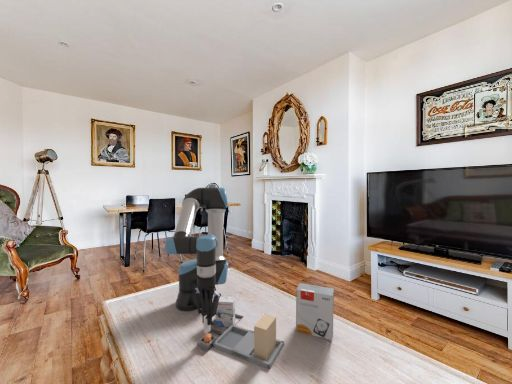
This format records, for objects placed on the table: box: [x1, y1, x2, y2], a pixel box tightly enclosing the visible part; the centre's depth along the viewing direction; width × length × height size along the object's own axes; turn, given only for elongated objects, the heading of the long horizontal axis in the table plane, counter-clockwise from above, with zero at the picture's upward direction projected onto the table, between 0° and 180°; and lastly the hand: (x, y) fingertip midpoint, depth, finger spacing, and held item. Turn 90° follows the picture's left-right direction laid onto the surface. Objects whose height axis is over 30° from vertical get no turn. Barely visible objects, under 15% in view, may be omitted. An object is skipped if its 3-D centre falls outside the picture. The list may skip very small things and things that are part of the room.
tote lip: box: [209, 313, 245, 336], centre depth 113 cm, size 12×16×1 cm
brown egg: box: [203, 333, 212, 343], centre depth 98 cm, size 3×3×4 cm
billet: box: [253, 313, 277, 361], centre depth 92 cm, size 5×9×12 cm, turn 152°
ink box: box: [215, 296, 236, 328], centre depth 113 cm, size 9×5×12 cm, turn 84°
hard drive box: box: [295, 282, 335, 342], centre depth 105 cm, size 16×8×20 cm, turn 68°
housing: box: [196, 332, 219, 352], centre depth 98 cm, size 6×6×2 cm
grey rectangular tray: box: [212, 324, 285, 370], centre depth 96 cm, size 25×14×2 cm, turn 62°
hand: (207, 331), depth 98 cm, fingers closed
